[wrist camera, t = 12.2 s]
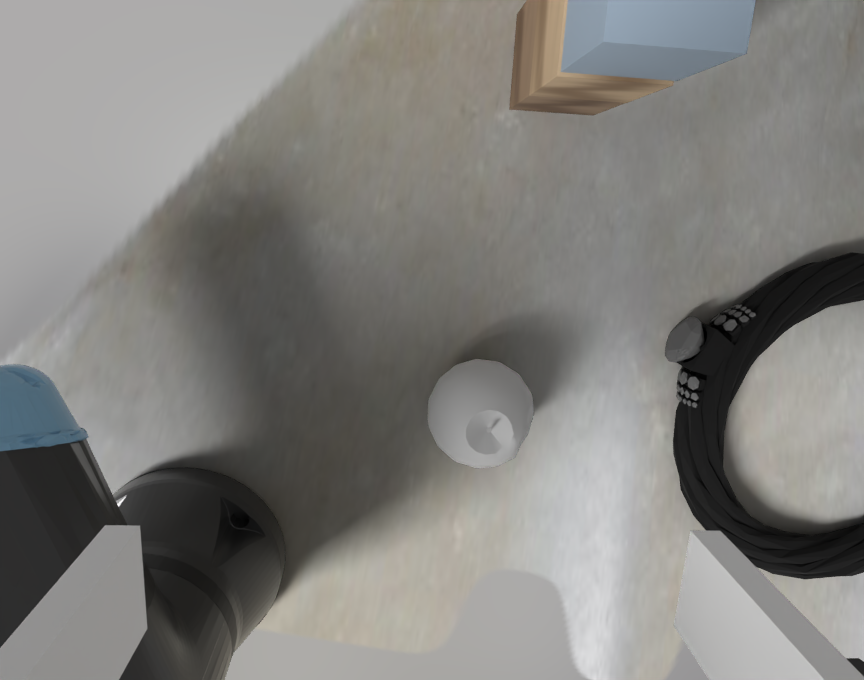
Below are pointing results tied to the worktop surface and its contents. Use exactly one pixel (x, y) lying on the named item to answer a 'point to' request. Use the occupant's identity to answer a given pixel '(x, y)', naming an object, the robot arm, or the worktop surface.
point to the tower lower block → (523, 74)
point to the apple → (480, 413)
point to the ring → (712, 395)
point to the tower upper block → (575, 85)
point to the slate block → (654, 36)
